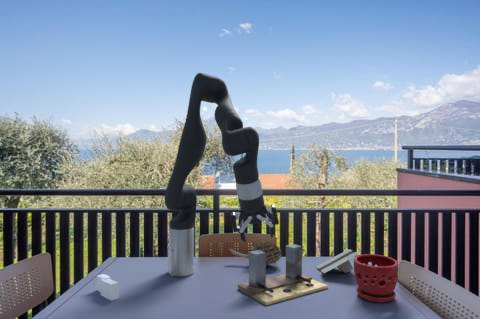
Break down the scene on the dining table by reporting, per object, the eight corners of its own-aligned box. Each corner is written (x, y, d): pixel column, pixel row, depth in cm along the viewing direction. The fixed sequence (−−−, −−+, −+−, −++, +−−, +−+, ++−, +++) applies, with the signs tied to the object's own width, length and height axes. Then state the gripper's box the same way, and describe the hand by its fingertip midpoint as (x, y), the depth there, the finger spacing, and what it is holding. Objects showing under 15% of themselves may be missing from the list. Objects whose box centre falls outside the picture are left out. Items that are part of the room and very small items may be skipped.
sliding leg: (268, 294, 108) (268, 259, 108) (248, 284, 117) (248, 251, 117) (278, 292, 110) (278, 257, 110) (258, 282, 119) (258, 250, 119)
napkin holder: (123, 303, 107) (123, 284, 107) (83, 305, 105) (83, 286, 105) (129, 285, 121) (129, 269, 121) (95, 287, 119) (95, 270, 119)
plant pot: (348, 289, 118) (348, 253, 117) (388, 289, 117) (388, 254, 117) (360, 305, 104) (361, 265, 104) (405, 306, 104) (405, 266, 104)
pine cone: (282, 263, 146) (282, 239, 146) (280, 270, 137) (281, 245, 137) (230, 260, 150) (230, 237, 150) (225, 267, 141) (225, 242, 141)
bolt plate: (266, 305, 104) (266, 301, 104) (252, 297, 110) (252, 294, 110) (327, 288, 118) (327, 285, 118) (313, 282, 124) (313, 279, 124)
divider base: (260, 302, 107) (260, 261, 107) (237, 289, 117) (238, 251, 117) (321, 285, 121) (321, 249, 121) (296, 275, 131) (296, 241, 131)
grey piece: (340, 292, 125) (371, 264, 126) (323, 273, 126) (353, 245, 127) (330, 283, 141) (357, 258, 142) (315, 266, 143) (342, 241, 144)
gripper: (271, 183, 109) (278, 228, 114) (226, 191, 109) (235, 235, 115) (275, 194, 102) (282, 241, 107) (226, 203, 102) (236, 249, 108)
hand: (258, 238), depth 111 cm, fingers open, 8 cm apart
